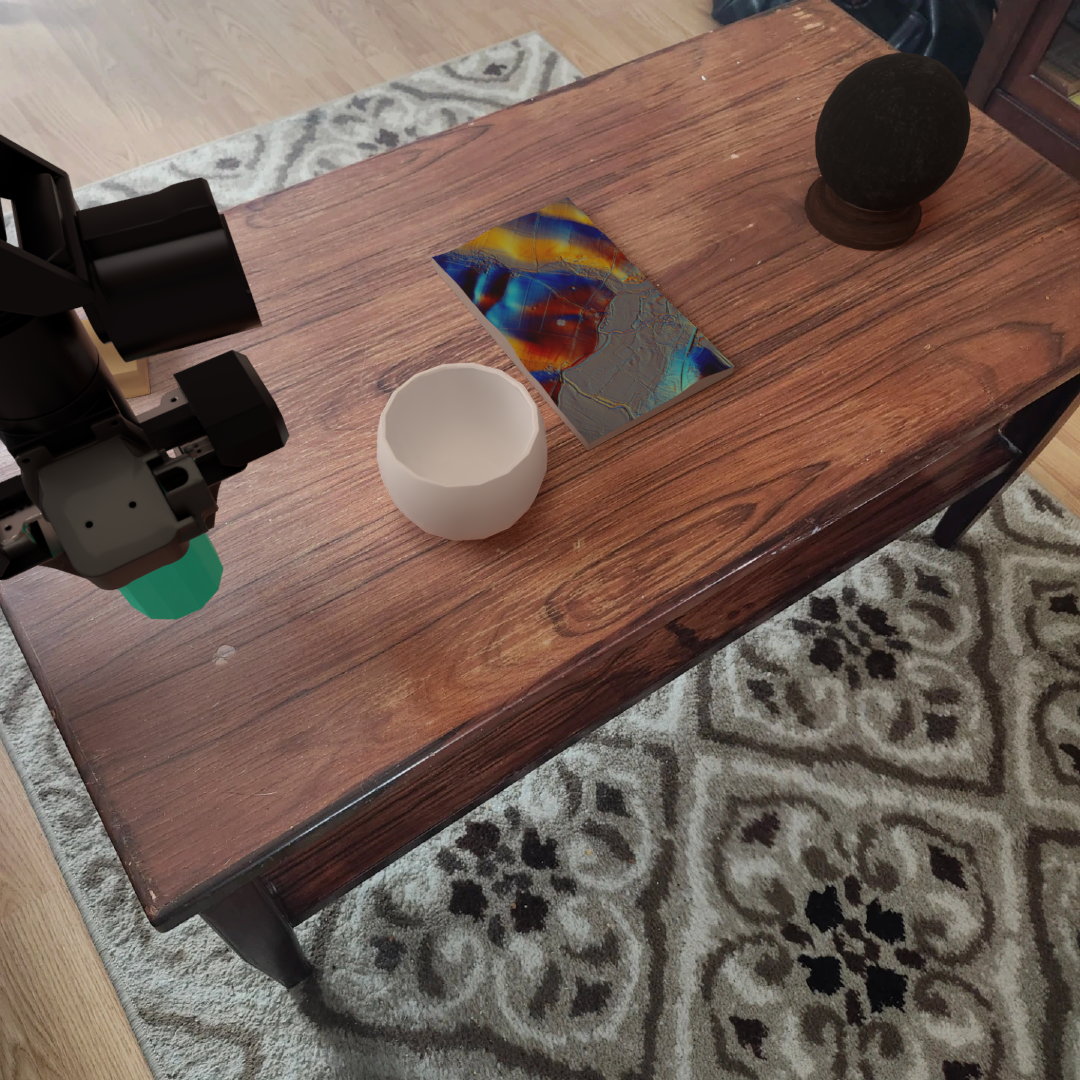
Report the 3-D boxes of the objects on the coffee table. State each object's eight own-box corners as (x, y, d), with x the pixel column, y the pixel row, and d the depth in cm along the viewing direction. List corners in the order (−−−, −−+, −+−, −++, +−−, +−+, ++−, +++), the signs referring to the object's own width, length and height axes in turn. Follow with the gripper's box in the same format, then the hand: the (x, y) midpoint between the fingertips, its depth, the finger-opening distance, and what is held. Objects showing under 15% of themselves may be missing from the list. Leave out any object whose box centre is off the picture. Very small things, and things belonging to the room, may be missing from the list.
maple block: (62, 351, 79) (47, 326, 76) (145, 335, 80) (132, 310, 78) (64, 411, 76) (47, 387, 73) (150, 393, 77) (137, 369, 74)
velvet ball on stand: (931, 180, 92) (996, 33, 79) (927, 268, 85) (997, 123, 73) (801, 159, 94) (844, 11, 81) (787, 244, 87) (831, 97, 74)
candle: (107, 576, 57) (15, 462, 47) (189, 520, 59) (119, 401, 49) (158, 639, 55) (74, 534, 44) (242, 579, 57) (181, 466, 47)
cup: (495, 593, 67) (490, 524, 59) (358, 524, 70) (335, 448, 62) (573, 475, 73) (579, 396, 64) (443, 415, 76) (433, 332, 67)
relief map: (732, 373, 78) (737, 357, 77) (587, 450, 74) (589, 435, 72) (567, 208, 89) (568, 191, 88) (432, 267, 85) (430, 250, 83)
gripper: (-151, 605, 34) (37, 741, 48) (301, 404, 40) (356, 576, 53) (-206, 411, 39) (-21, 584, 53) (204, 255, 45) (278, 447, 58)
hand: (154, 549), depth 54 cm, fingers closed on candle, 6 cm apart
